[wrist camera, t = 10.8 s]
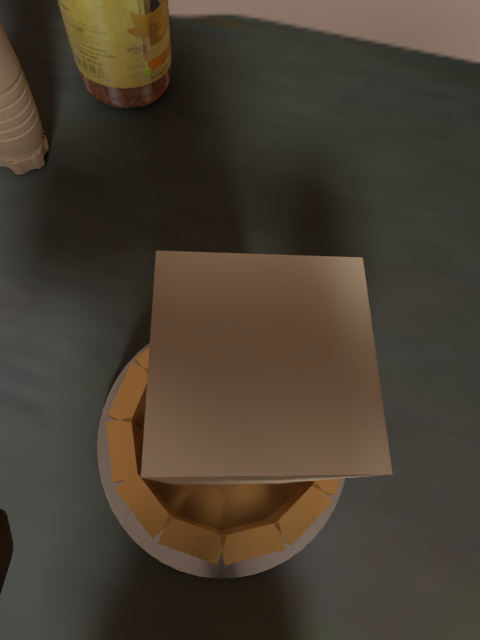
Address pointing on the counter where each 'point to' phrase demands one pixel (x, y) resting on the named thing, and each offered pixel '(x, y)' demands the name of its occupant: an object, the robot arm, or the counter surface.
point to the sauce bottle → (120, 48)
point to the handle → (18, 116)
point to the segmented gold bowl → (201, 500)
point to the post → (261, 371)
